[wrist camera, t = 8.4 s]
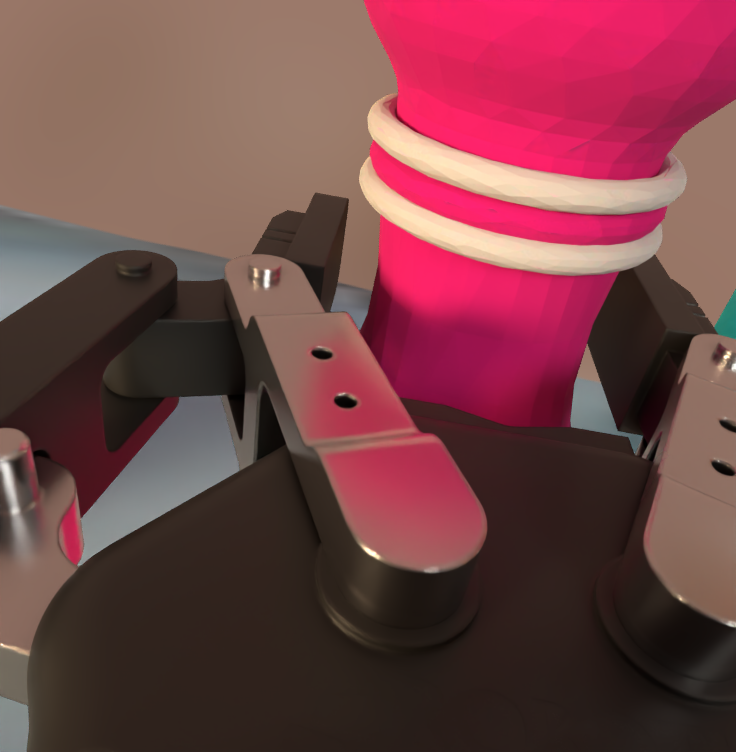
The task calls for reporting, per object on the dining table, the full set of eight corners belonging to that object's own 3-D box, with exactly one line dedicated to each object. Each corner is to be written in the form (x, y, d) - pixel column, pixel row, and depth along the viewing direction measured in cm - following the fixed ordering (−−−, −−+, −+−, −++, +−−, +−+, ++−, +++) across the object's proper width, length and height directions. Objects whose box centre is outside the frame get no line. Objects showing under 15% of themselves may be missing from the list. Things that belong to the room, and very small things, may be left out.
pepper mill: (278, 516, 21) (375, -438, 10) (502, 550, 21) (857, -341, 10) (223, 753, 15) (309, -1021, 4) (536, 796, 15) (1529, -740, 4)
